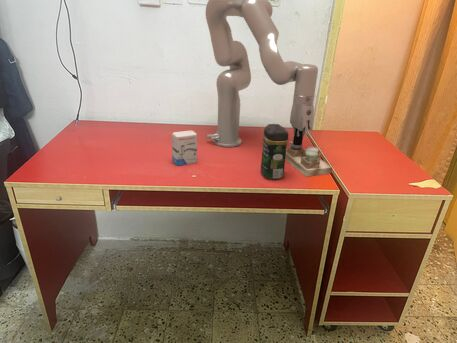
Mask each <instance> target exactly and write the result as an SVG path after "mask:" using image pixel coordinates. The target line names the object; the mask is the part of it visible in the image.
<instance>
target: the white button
mask: <svg viewBox="0 0 457 343" xmlns="http://www.w3.org/2000/svg"><path fill="white" fill-rule="evenodd" d="M306 149H307V150H314V151H317V152H318V153H319V148H318V147H316V146H307V147H306Z"/></svg>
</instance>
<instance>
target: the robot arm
mask: <svg viewBox="0 0 457 343" xmlns="http://www.w3.org/2000/svg"><path fill="white" fill-rule="evenodd" d="M272 15H273V6H272V4H271V2H270V1H269V0H208V1H207V3H206V6H205V20H206V24H207V26H208V31H209V34H210V35H209V36H210V40H211V46H212V50H213V56H214V59H215V60H214V61H215V62H216V64H217V65H218V66H220V67H223V68H224V67H229V69H226V70H223V71H222V72H220V74H219V75H218V76H217V78H216V90H217V124H216V125H217V130H216V131H214V132H213V133H212V134H211V133H209V134H206V136H205V137H206V140H209V139H210V140H211V141H213V143H214V144H215V145H217V146H219V147H225V148H232V147H233V148H234V147H238V146H240V145H242V141H243V140H242V139H241V138H240V137H239V131H240V117H241V116H240V115H241V98H240V93H239V92H240V91H242V90H245V89H247V88H248V87H249V86H250V84H251V81H252V72H251V68H250V62H249V57H248V51H247V49H246V47H245V45H244V44H243V43H242V42H241V41H238V40H234V39H233V34H232V33H233V32H232V29H231V26H230V24H229V22H228V20H227V17H238V18H239V17H241V18H243V19H244V21H245V23H246V25H247V26H248V29H249V30H250V32H251V34H252V36H253V37H254V39H255V41H256V42H257V45H258V51H259V56H260V61H261V64H262V66H263V68H264V70H265V72H266V74H267V75H268V78H269V79H270V80H271V81H272V82H273V83H275V84H276V85H277V86H278V85H279V86H283V85H286V84H288V83H293V82H294V89H293V90H294V91H293V97H292V98H293V100H292V106H291V110H290V116H289V123H290V125H291V127H292V129H293V139H292V141H293V144H294V145H295V146H296V145H302V146H303V139H304V136H305V135H309V131H311V130H313V125H314V114H315V113H314V112H315V111H314V110H315V109H314V99H315V94H316V89H317V79H318V73H319V68H318V66H317V65H315V64H310V63H300V62H297V61H292V60H291V61H290V60H287V61H284V60H283V58H282V56H281V53H280V51H279V48H278V40H279V37H280V36H279V34H280V33H279V30H278V28H277V26H276V25H275V23H274V22H273V19H272Z"/></svg>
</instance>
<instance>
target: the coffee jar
mask: <svg viewBox="0 0 457 343" xmlns="http://www.w3.org/2000/svg"><path fill="white" fill-rule="evenodd" d="M262 138H263V140H262V152H261V162H260V172H261V174H262V175H263V177H264V178H265V179H268V180H269V179H270V180H280V179H282V178H283V177H284V175H285V166H286V165H285V164H286V160H285V156H286V151H287V148H288V142H289V131H288V130H287V129H286V128H285V126H284V127H283V126H282V125H280V124H278V123H269V124H267V125H266V126H265V127H264V131H263V137H262Z"/></svg>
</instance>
